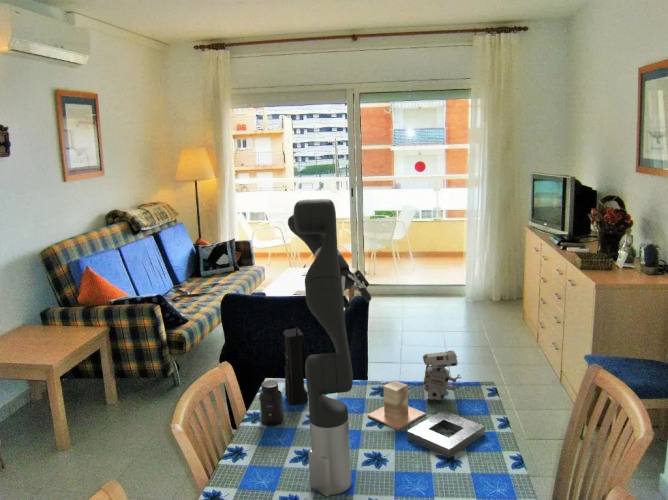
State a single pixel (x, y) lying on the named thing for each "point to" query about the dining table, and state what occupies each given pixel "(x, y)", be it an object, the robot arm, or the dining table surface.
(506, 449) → the dining table surface
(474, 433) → the socket block
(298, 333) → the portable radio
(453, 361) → the figurine
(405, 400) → the beech peg
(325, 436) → the robot arm
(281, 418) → the supplement bottle
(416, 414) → the terracotta tile
